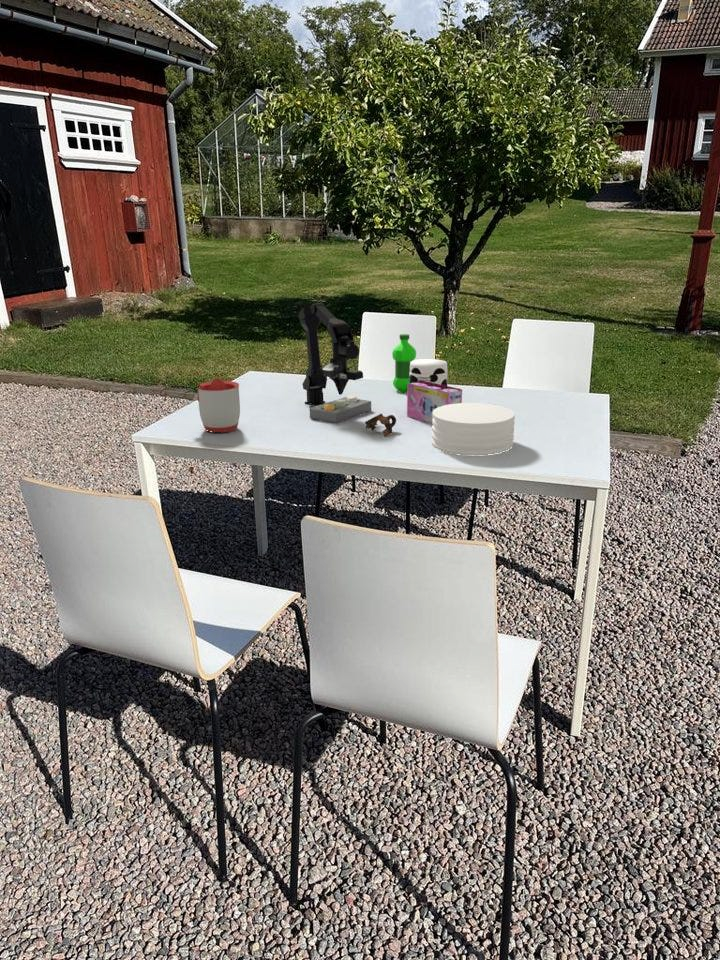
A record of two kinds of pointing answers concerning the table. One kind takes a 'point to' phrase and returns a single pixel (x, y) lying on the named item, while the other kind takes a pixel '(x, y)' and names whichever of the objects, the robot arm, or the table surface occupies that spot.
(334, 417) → the button panel
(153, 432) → the table surface
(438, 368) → the milk container
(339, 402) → the sage button
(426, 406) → the gum box
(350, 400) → the cream button
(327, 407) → the amber button
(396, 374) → the plastic bottle
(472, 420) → the plate stack
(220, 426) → the citrus juicer
